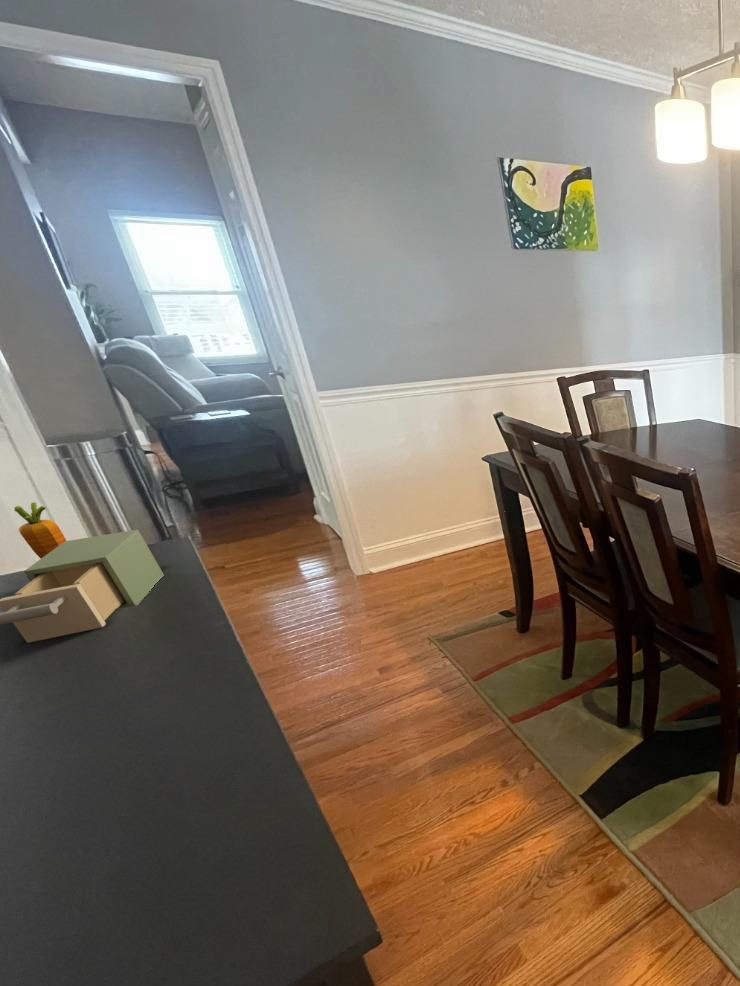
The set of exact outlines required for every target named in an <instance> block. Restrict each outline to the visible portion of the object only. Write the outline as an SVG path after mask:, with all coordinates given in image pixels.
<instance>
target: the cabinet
mask: <svg viewBox="0 0 740 986" xmlns="http://www.w3.org/2000/svg"><path fill="white" fill-rule="evenodd" d="M101 562H103V564H104V566H105V568H106V569H107V571H108V572H109V574H110V576H111V577H112V579H113V580H114V582H115V584H116V585H117V587H118V589H119V590H120V592H121V593H122V595H123V597H124V598H125V601H124V602H123V603H122V604H121V605H120V606H119V607H118V608H117V609H121V608H127V607H128V608H129V607H135V606H138V605H139V604H140V603H141V602H143V600H144V599H145V598H146V596H148V594H149V593H150V592H151V591H152V590H153V589H154V588H155V587H154V585H155V584H156V583H157V582H158V581H159V580H160V579H161V578H162V577H163V576H164V577H165V575H164V572H163V571H162V569H161V567H160V565H159V564H158V561H157V560H156V559H155V557H154V555H153V553H152V551H151V550H150V548H149V546H148V544H147V543H146V540H145V539H144V538H143V536H142V534H141V532H140V530H139V529H133V530H132V529H131V530H126V531H119V532H114V533H108V534H107V533H106V534H102V535H101V534H100V535H96V536H89V537H83V538H82V537H81V538H76V539H71V540H66V541H65V542H63V543H62V544H61V545H59V546H58V547H57V548H55V549H54V550H52V551H51V552H50V553H48V554H47V555H46V556H44V557H43V558H39V559H38V560H37V561H36V562H34V563H33V564H32V565H30V566H29V567H28V568H26V569H25V570H23V573H24V575H25V576H26V577H27V579H28V581H29V582H31V581H32V580H33V579H35V578H36V577H37V576H39V575H40V574H41V573H44V572H50V571H56V570H61V569H67V568H73V567H79V566H84V565H90V564H96V563H101ZM164 577H163V578H164ZM163 578H162V579H163ZM162 579H161V580H162ZM161 580H160V581H161ZM160 581H159V582H160ZM159 582H158V583H159ZM158 583H157V584H158ZM157 584H156V585H157ZM156 585H155V586H156ZM153 587H154V588H153ZM152 588H153V589H152ZM151 589H152V590H151ZM149 591H150V592H149ZM144 597H145V598H144Z"/></svg>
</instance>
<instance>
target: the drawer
mask: <svg viewBox="0 0 740 986" xmlns="http://www.w3.org/2000/svg"><path fill="white" fill-rule="evenodd" d="M124 601H125V598H124V597H123V595H122V593H121V592H120V590H119V589H118V587H117V585H116V584H115V582H114V580H113V579H112V577H111V576H110V574H109V572H108V571H107V569H106V568H105V566H104V564H103V562H101V563H96V564H90V565H84V566H79V567H73V568H67V569H61V570H56V571H50V572H44V573H41V574H40V575H39V576H37V577H36V578H35V579H33V580H32V581H31V582H30V581H29V582H28V583H26V584H25V585H24V586H23V587H21V588H20V589H19V590H18V591H16V592H15V593H14V595H11V596H5V597H2V598H0V608H1V609H2V610H3V612H0V625H6V624H13V625H14V627H15V628H16V629H17V631H18V632H19V633H20V635H21V637H22V638H23V639H24V640H25V641H26V643H32V642H39V641H43V640H47V639H52V638H57V637H62V636H66V635H71V634H77V633H81V632H85V631H86V632H87V631H91V630H96V629H100V628H103V627H105V626H106V624H107V623H106V620H107V619H108V618H109V617H110V615H112V614H113V613H114V612H115V610H116V609H119V608H118V607H119V606H120V605H121V604H122V603H123V602H124Z"/></svg>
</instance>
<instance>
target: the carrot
mask: <svg viewBox="0 0 740 986" xmlns="http://www.w3.org/2000/svg"><path fill="white" fill-rule="evenodd" d="M13 509H14V512H16V513H17V514H18V515H19V516H20V517H21V518H22V519H23V520H25V521H26V522H27V523H24V524H21V526H19V528H18V532H19V534H20V535H21V536H22V538H23V539H24V541H25V542H26V544H27V545H28V547H30V549H31V550H32V551H33V552H34V554H35V555H36V556H37V557H38V558H39V559H41V558H43V557H44V556H46V555H47V554H48V553H50V552H51V551H52V550H54V549H55V548H57V547H58V546H59V545H61V544H62V543H63V542H65V541H67V538H66V537H65V535H64V533H63V531H62V530H61V528H60V527H59V525H58V524H57V523H56V522H55V521H53V520H52V519H41V515H42V513H43V511H45V510H46V509H47V507H46V506H44V505H41V506H39V507H38V508H37V502H35V501H34V502H31V503H30V510H31V512H30V513H29V512H28V511H26V510H25V509H24V508H23V507H22V506H21V505H16V506H15V507H14V508H13Z"/></svg>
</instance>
